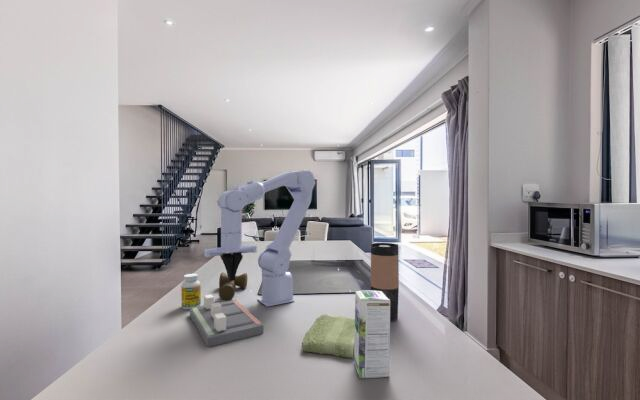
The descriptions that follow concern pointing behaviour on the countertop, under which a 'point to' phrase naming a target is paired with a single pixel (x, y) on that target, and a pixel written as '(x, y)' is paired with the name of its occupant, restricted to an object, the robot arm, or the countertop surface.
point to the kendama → (230, 285)
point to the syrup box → (372, 334)
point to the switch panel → (237, 323)
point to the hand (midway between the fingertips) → (231, 279)
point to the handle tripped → (220, 322)
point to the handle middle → (215, 309)
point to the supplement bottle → (191, 291)
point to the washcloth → (331, 336)
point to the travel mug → (386, 273)
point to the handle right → (208, 301)
